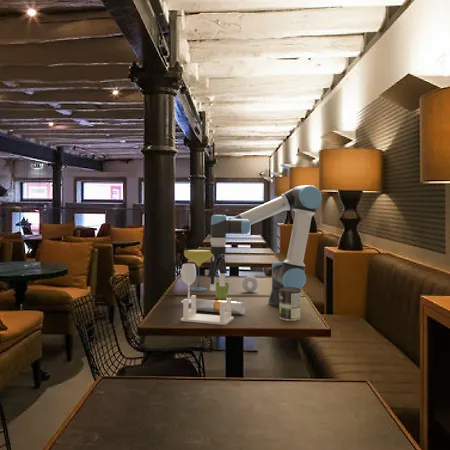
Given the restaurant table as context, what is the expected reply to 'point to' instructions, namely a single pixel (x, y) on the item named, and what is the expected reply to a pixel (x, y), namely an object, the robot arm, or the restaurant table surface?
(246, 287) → the donut
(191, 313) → the collar stand
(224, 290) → the plant pot
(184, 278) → the wineglass
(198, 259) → the cocktail glass
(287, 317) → the coffee can
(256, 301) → the restaurant table surface
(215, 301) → the air tube
